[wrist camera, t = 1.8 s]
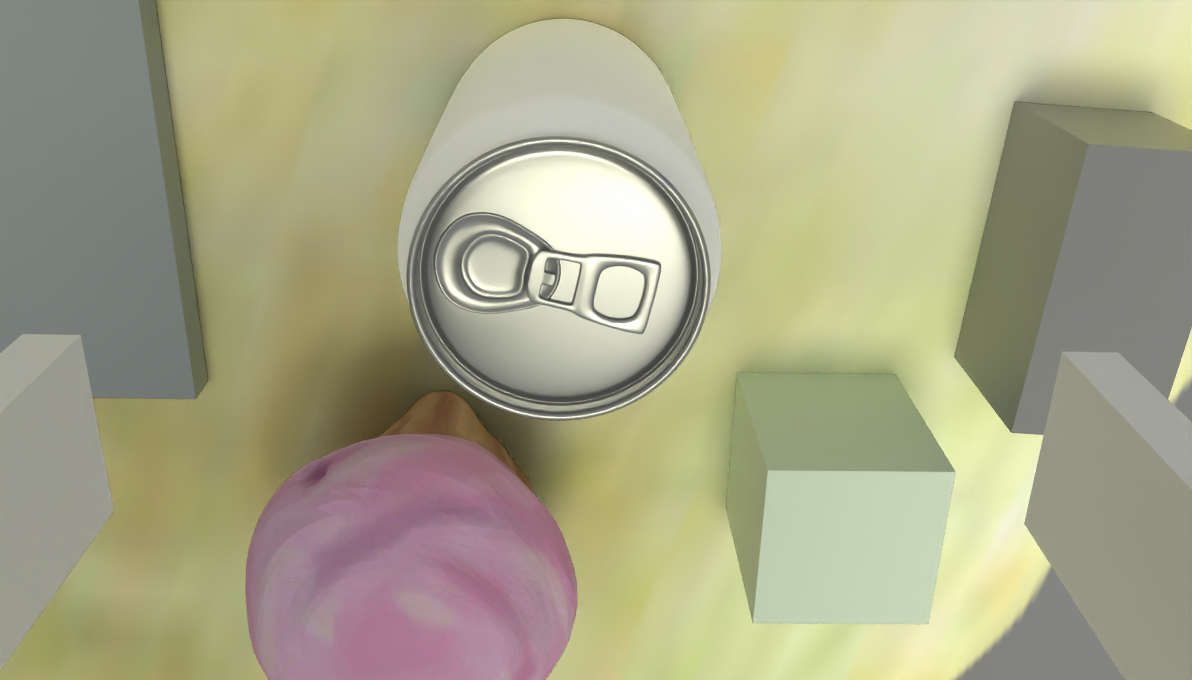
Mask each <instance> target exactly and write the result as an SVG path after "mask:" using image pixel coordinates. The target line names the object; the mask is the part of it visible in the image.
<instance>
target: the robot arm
mask: <svg viewBox="0 0 1192 680" xmlns="http://www.w3.org/2000/svg"><path fill="white" fill-rule="evenodd" d="M113 511H114V508H113V503H112V498H111V493H110V487H109V482H108V477H107V471H106V466H105V461H104V456H103V450H102V445H101V440H100V435H99V429H98V424H97V419H96V413H95V408H94V403H93V398H92V392H91V387H90V382H89V376H88V371H87V366H86V361H85V355H84V350H83V345H82V340H81V335H52V334H22V335H21V336H20V337H18V338H17V339H16V340H15V341H14V342H13V343H12V344H10V345H9V346H8V347H7V348H6V349H5V350H3V351H2V352H1V353H0V670H1V669H2V667H3V666H4V665H5V663H6V662H7V660H8V659H9V658H10V656H11V655H12V653H13V652H14V651H15V649H16V648H17V646H18V645H19V644H20V642H21V641H22V639H23V638H24V636H25V635H26V634H27V632H28V631H29V629H30V628H31V627H32V625H33V624H34V622H35V621H36V620H37V618H38V617H39V615H40V614H41V613H42V611H43V610H44V608H45V607H46V606H47V604H48V603H49V601H50V600H51V598H52V597H53V596H54V594H55V593H56V591H57V590H58V589H59V587H60V586H61V584H62V583H63V582H64V580H65V579H66V577H67V576H68V575H69V573H70V572H71V570H72V569H73V568H74V566H75V565H76V563H77V562H78V560H79V559H80V558H81V556H82V555H83V553H84V552H85V551H86V549H87V548H88V546H89V545H90V544H91V542H92V541H93V539H94V538H95V537H96V535H97V534H98V532H99V531H100V530H101V528H102V527H103V525H104V524H105V522H106V521H107V520H108V518H109V517H110V515H111V514H112V513H113ZM1024 524H1025V525H1026V527H1027V528H1028V530H1029V532H1030V533H1031V535H1032V536H1033V538H1034V539H1035V541H1036V542H1037V544H1038V546H1039V547H1040V549H1041V550H1042V552H1043V553H1044V555H1045V556H1046V558H1047V560H1048V561H1049V563H1050V564H1051V566H1052V567H1053V569H1054V570H1055V572H1056V573H1057V575H1058V577H1059V578H1060V580H1061V581H1062V583H1063V584H1064V586H1065V587H1066V589H1067V591H1068V592H1069V594H1070V595H1071V597H1072V598H1073V600H1074V601H1075V603H1076V604H1077V606H1078V608H1079V609H1080V611H1081V612H1082V614H1083V615H1084V617H1085V618H1086V620H1087V622H1088V623H1089V625H1090V626H1091V628H1092V629H1093V631H1094V633H1095V634H1096V636H1097V637H1098V639H1099V640H1100V642H1101V643H1102V645H1103V646H1104V648H1105V649H1106V651H1107V653H1108V654H1109V656H1110V657H1111V659H1112V660H1113V662H1114V664H1115V665H1116V666H1117V668H1118V670H1119V671H1120V673H1121V674H1122V676H1123V678H1124V679H1125V680H1192V422H1191V421H1190V420H1189V419H1188V418H1186V417H1185V416H1184V415H1183V414H1182V413H1181V412H1180V411H1179V410H1178V409H1177V408H1176V407H1175V406H1174V405H1173V404H1172V403H1171V402H1170V401H1169V400H1168V399H1167V398H1166V397H1165V396H1163V395H1162V394H1161V393H1160V392H1159V391H1158V390H1157V389H1156V388H1155V387H1154V386H1153V385H1152V384H1151V383H1150V382H1149V381H1148V380H1147V379H1146V378H1145V377H1144V376H1143V375H1142V374H1140V373H1139V372H1138V371H1137V370H1136V369H1135V368H1134V367H1133V366H1132V365H1131V364H1130V363H1129V362H1128V361H1127V360H1126V359H1125V358H1124V357H1123V356H1122V355H1121V354H1120V353H1118V352H1062V354H1061V359H1060V363H1059V368H1058V372H1057V377H1056V381H1055V386H1054V391H1053V395H1052V400H1051V404H1050V409H1049V413H1048V418H1047V423H1046V427H1045V432H1044V436H1043V441H1042V445H1041V450H1040V455H1039V459H1038V464H1037V468H1036V473H1035V477H1034V482H1033V487H1032V491H1031V496H1030V500H1029V505H1028V509H1027V514H1026V519H1025V523H1024Z"/></svg>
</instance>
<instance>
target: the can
mask: <svg viewBox="0 0 1192 680" xmlns="http://www.w3.org/2000/svg"><path fill="white" fill-rule="evenodd" d="M398 265H399V272H400V277H401V282H402V286H403V289H404V293H405V296H406V299H407V301H408V304H409V306H410V310H411V314H412V317H413V320H414V323H415V326H416V328H417V331H418V333H419V335H420V337H421V339H422V341H423V343H424V345H425V346H426V348H427V350H428V351H429V353H430V354H431V356H432V357H433V359H434V360H435V361H436V363H437V364H438V365H439V366H440V367H441V368H442V370H443V371H444V372H445V373H446V374H447V375H448V376H449V377H450V378H451V379H452V380H453V381H454V382H456V383H457V384H458V385H459V386H460V387H462V388H463V389H464V390H466V391H467V392H469V393H470V394H472V395H473V396H475V397H476V398H478V399H480V400H482V401H483V402H485V403H487V404H489V405H491V406H494V407H496V408H498V409H501V410H503V411H506V412H509V413H512V414H515V415H519V416H523V417H528V418H534V419H541V420H555V421H565V420H578V419H586V418H591V417H596V416H600V415H603V414H607V413H610V412H613V411H616V410H618V409H621V408H623V407H625V406H628V405H630V404H632V403H634V402H636V401H637V400H639V399H641V398H642V397H644V396H646V395H647V394H649V393H650V392H652V391H653V390H654V389H656V388H657V387H658V386H659V385H661V384H662V383H663V382H664V381H665V380H666V379H667V378H668V377H669V376H670V375H671V374H672V373H673V372H674V371H675V370H676V369H677V368H678V367H679V365H680V364H681V363H682V362H683V360H684V359H685V358H686V356H687V355H688V353H689V352H690V350H691V348H692V347H693V345H694V343H695V341H696V339H697V337H698V335H699V333H700V330H701V328H702V325H703V323H704V320H705V316H706V314H707V312H708V310H709V308H710V305H711V303H712V300H713V297H714V294H715V291H716V287H717V283H718V278H719V273H720V265H721V234H720V225H719V219H718V215H717V210H716V207H715V203H714V200H713V196H712V193H711V190H710V187H709V185H708V182H707V179H706V176H705V174H704V171H703V169H702V166H701V163H700V161H699V158H698V156H697V153H696V151H695V148H694V146H693V143H692V141H691V138H690V136H689V133H688V131H687V128H686V126H685V123H684V121H683V119H682V116H681V114H680V111H679V109H678V107H677V104H676V102H675V100H674V97H673V95H672V93H671V91H670V88H669V86H668V84H667V83H666V81H665V79H664V77H663V75H662V74H661V72H660V71H659V69H658V68H657V66H656V65H655V64H654V63H653V61H652V60H651V59H650V58H649V57H648V56H647V55H646V54H645V53H644V52H643V51H642V50H641V49H640V48H639V47H638V46H637V45H635V44H634V43H633V42H632V41H630V40H629V39H627V38H626V37H624V36H623V35H621V34H619V33H617V32H616V31H613V30H611V29H609V28H607V27H604V26H602V25H599V24H595V23H592V22H588V21H583V20H575V19H550V20H543V21H538V22H534V23H530V24H527V25H524V26H521V27H519V28H517V29H514V30H512V31H510V32H508V33H507V34H505V35H503V36H502V37H500V38H499V39H497V40H496V41H494V42H493V43H492V44H491V45H489V46H488V47H487V48H486V49H485V50H484V51H483V52H482V53H481V54H480V55H479V56H478V57H477V58H476V59H475V60H474V61H473V63H472V64H471V65H470V66H469V68H468V69H467V71H466V72H465V74H464V75H463V77H462V78H461V80H460V81H459V83H458V85H457V87H456V89H455V91H454V93H453V95H452V97H451V99H450V101H449V103H448V105H447V107H446V109H445V111H444V113H443V115H442V117H441V119H440V121H439V123H438V125H437V127H436V129H435V132H434V134H433V136H432V138H431V140H430V142H429V144H428V146H427V148H426V151H425V153H424V155H423V157H422V159H421V161H420V164H419V166H418V168H417V170H416V173H415V175H414V177H413V180H412V182H411V184H410V187H409V190H408V193H407V196H406V198H405V202H404V205H403V209H402V213H401V218H400V224H399V232H398Z"/></svg>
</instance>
